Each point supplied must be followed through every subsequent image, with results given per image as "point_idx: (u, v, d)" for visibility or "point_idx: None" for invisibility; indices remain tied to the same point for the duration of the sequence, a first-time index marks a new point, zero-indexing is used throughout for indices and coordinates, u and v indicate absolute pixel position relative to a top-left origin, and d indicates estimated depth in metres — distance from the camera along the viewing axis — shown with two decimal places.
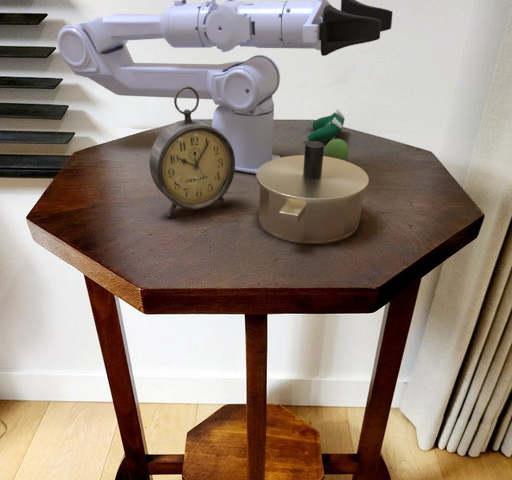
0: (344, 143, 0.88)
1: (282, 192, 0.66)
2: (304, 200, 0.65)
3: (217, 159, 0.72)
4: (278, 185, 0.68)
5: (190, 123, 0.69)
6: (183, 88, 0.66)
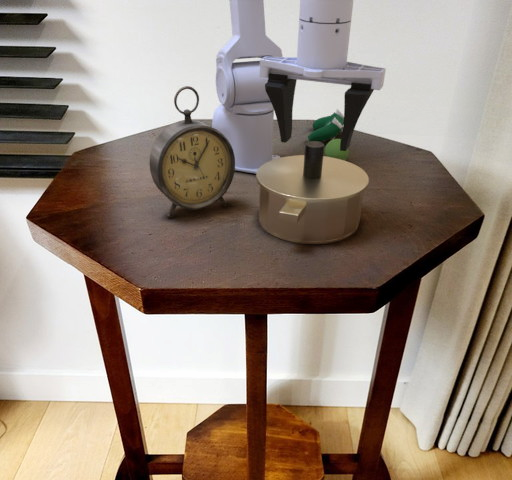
0: None
1: (282, 192, 0.66)
2: (304, 200, 0.65)
3: (217, 159, 0.72)
4: (278, 185, 0.68)
5: (190, 123, 0.69)
6: (183, 88, 0.66)
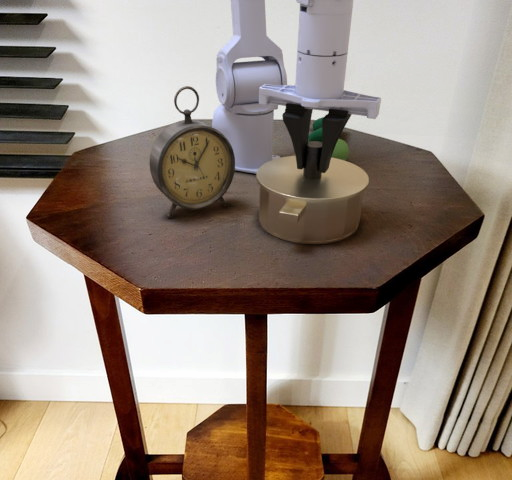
0: (344, 143, 0.88)
1: (282, 192, 0.66)
2: (304, 200, 0.65)
3: (217, 159, 0.72)
4: (278, 185, 0.68)
5: (190, 123, 0.69)
6: (183, 88, 0.66)
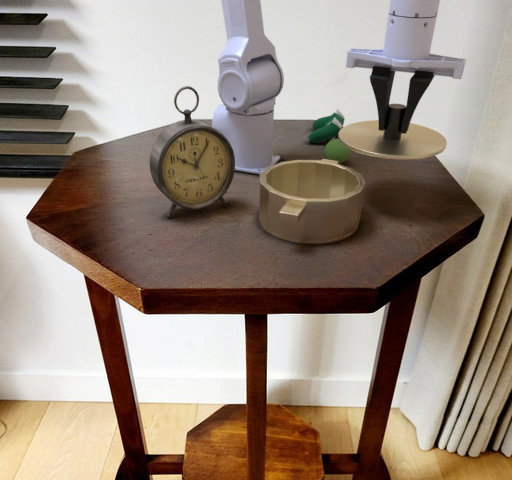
0: None
1: (368, 150, 0.70)
2: (390, 157, 0.69)
3: (217, 159, 0.72)
4: (363, 145, 0.72)
5: (190, 123, 0.69)
6: (183, 88, 0.66)
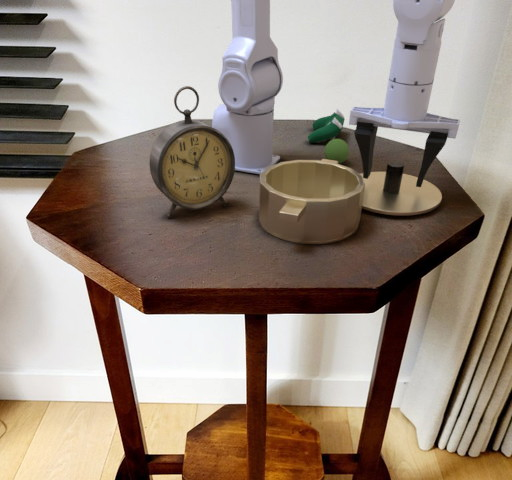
0: (344, 143, 0.88)
1: (369, 206, 0.76)
2: (390, 213, 0.75)
3: (217, 159, 0.72)
4: (364, 200, 0.77)
5: (190, 123, 0.69)
6: (183, 88, 0.66)
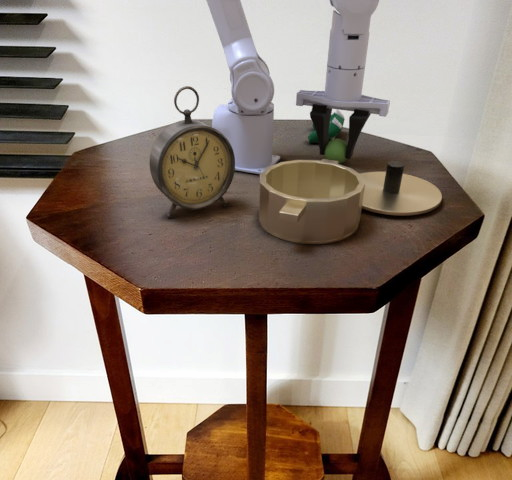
0: (344, 143, 0.88)
1: (369, 206, 0.76)
2: (390, 213, 0.75)
3: (217, 159, 0.72)
4: (364, 200, 0.77)
5: (190, 123, 0.69)
6: (183, 88, 0.66)
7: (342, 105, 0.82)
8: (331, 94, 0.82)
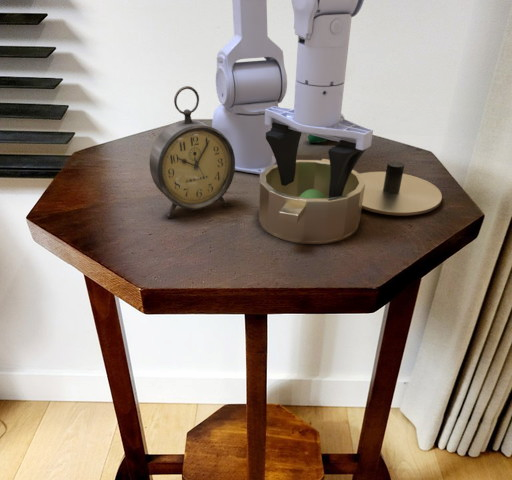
0: (321, 198, 0.71)
1: (369, 206, 0.76)
2: (390, 213, 0.75)
3: (217, 159, 0.72)
4: (364, 200, 0.77)
5: (190, 123, 0.69)
6: (183, 88, 0.66)
7: (308, 130, 0.64)
8: (297, 114, 0.65)
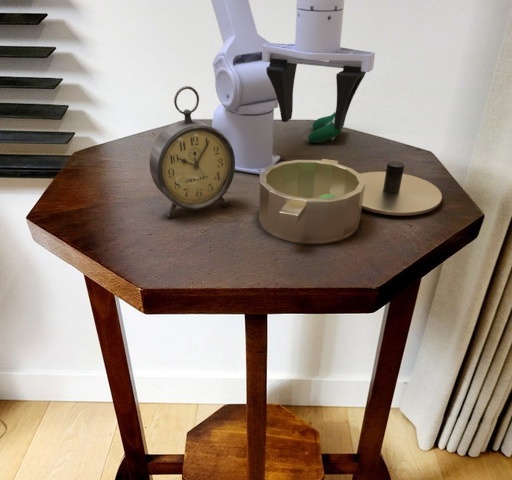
0: None
1: (369, 206, 0.76)
2: (390, 213, 0.75)
3: (217, 159, 0.72)
4: (364, 200, 0.77)
5: (190, 123, 0.69)
6: (183, 88, 0.66)
7: (314, 57, 0.67)
8: (301, 43, 0.67)
